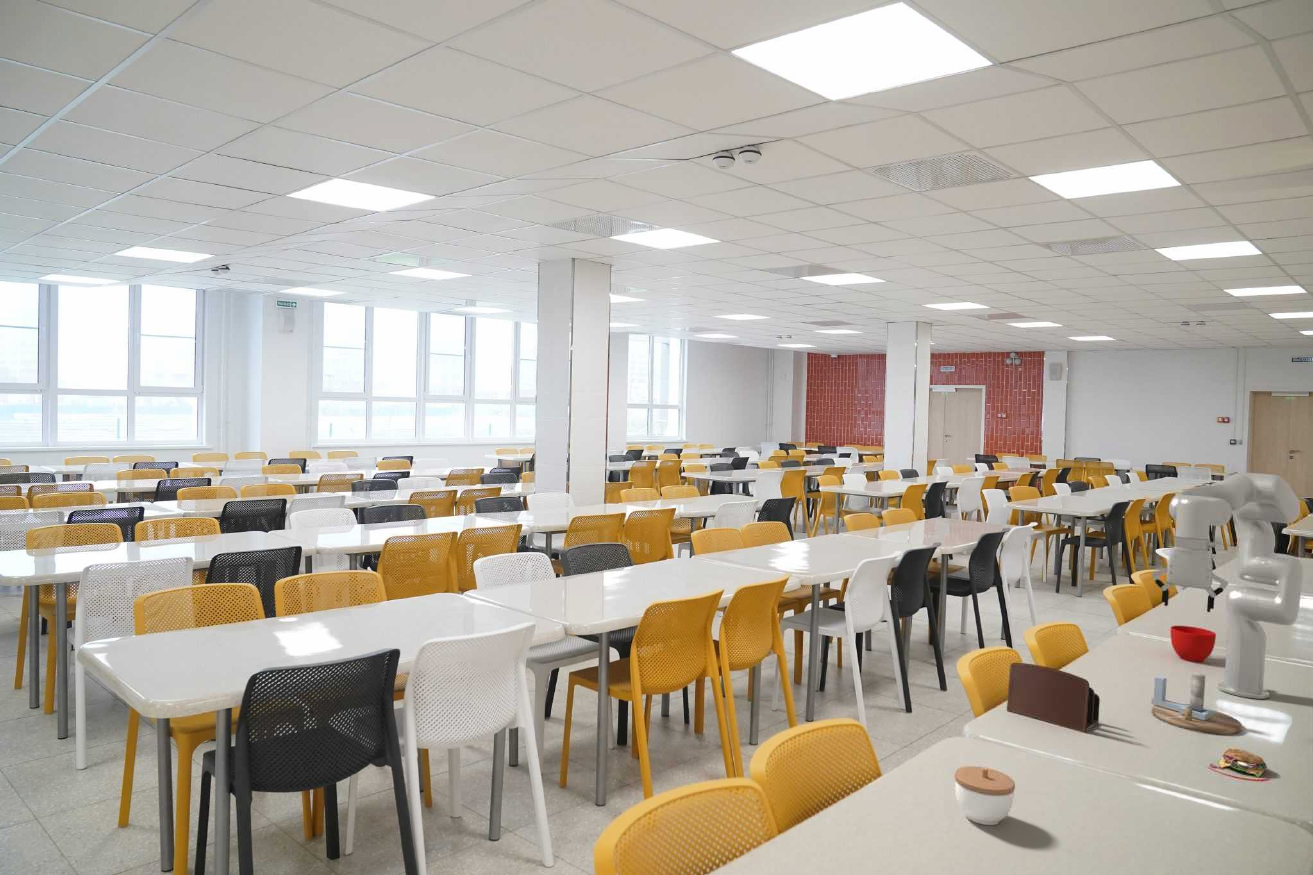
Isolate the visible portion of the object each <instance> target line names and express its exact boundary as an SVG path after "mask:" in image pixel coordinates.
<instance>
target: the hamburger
mask: <svg viewBox="0 0 1313 875" xmlns="http://www.w3.org/2000/svg"><path fill="white" fill-rule="evenodd" d="M1226 767H1229V768H1231V769H1233V770H1235V771H1238V772H1242V773H1247V774H1254V775H1255V776H1256V777H1257V779H1255V778H1254V779H1253V778H1246V777H1240V776H1235V775H1231V774H1227V773H1225V772H1221V771H1219V770H1225V769H1226ZM1206 768H1207V769H1209V770H1211V771H1213V772H1215V773H1218V774H1220V775H1223V776H1226V777H1230V778H1234V779H1238V780H1244V781H1251V782H1269V781H1271V780H1272V779H1271V778H1264V779H1259V777H1260V776H1261V775H1262V774H1263V773H1264V771H1266V770H1267V769H1268V767H1267V764H1266V762H1265V761H1264V759H1263V757H1261V756H1259V755H1256V754H1255V753H1252V752H1249V751H1247V750H1243V749H1240V748H1238V749H1237V748H1228V749H1226V751H1224V752H1223V753H1222V757H1221V758H1220V759H1219V766H1218V765H1217V766H1216V765H1215V764H1212V763H1210V764H1209V766H1206ZM1216 769H1219V770H1216ZM1270 779H1271V780H1270Z"/></svg>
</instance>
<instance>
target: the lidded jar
mask: <svg viewBox="0 0 1313 875" xmlns="http://www.w3.org/2000/svg"><path fill="white" fill-rule="evenodd" d="M1015 789H1016V783H1015V781H1014V779H1013V778H1012V777H1011V776H1009V775H1007V774H1005V773H1004V772H1001V771H998V770H995V769H993V768H988V767H983V766H974V765H969V766H962V767H959V768H957V769H956V770H955V772H954V792H955V798H956V802H957V804H958V806H959V808H960V809H961V811H962V812H963V814H965V817H966V818H967V819H968V820H970V821H971V822H973V823H976V824H979V825H982V826H983V825H984V826H995V825H998V824H1000V821H1003V820H1004V819H1005V818H1006V817H1007V816H1008V814H1009V813H1010V812H1011V809H1012V806H1013V803H1014V802H1013V801H1014V794H1015Z"/></svg>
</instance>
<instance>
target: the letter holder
mask: <svg viewBox="0 0 1313 875" xmlns="http://www.w3.org/2000/svg"><path fill="white" fill-rule="evenodd" d="M1008 676H1009V678H1008V679H1009V680H1008V689H1007V690H1008V691H1007V692H1008V693H1007V702H1006V703H1007V704H1006V712H1009V713H1012V714H1017V715H1021V716H1024V717H1028V718H1031V719H1035V720H1039V721H1042V722H1045V723H1048V724H1053V725H1056V726H1059V727H1062V728H1063V727H1064V728H1066V729H1070V730H1074V731H1076V732H1081V733H1084V734H1085V733H1087V732H1089V731H1090V730H1092V729H1093V728H1095V727H1096V726H1097V725H1099V720H1100V717H1099V716H1100V703H1101V701H1100V700H1101V698H1100V695H1098V694H1097V693H1095V690H1094V689H1093V688H1092V687H1090V683H1089V681H1088V679H1085V678H1084V677H1080V676H1078V675H1075V674H1072V673H1070V672H1066V671H1062V670H1060V669H1056V668H1052V667H1049V666H1044V665H1039V664H1032V663H1026V662H1025V663H1024V662H1023V663H1021V662H1012V663H1010V665H1009V675H1008Z"/></svg>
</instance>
